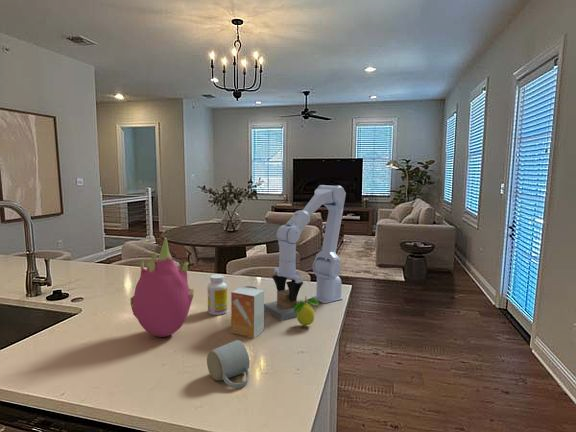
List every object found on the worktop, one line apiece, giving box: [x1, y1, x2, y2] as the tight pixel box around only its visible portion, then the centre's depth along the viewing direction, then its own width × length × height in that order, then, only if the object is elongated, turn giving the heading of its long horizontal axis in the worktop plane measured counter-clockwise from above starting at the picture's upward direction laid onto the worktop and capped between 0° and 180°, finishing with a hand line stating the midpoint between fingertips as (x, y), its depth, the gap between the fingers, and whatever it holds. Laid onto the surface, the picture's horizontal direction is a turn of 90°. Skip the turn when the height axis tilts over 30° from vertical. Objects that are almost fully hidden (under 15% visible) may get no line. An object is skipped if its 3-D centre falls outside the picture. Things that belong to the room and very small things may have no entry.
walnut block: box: [276, 289, 298, 309], centre depth 132 cm, size 5×5×5 cm
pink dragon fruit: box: [129, 236, 195, 338], centre depth 111 cm, size 18×14×30 cm
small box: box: [230, 286, 265, 339], centre depth 114 cm, size 8×6×13 cm
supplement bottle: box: [207, 274, 228, 316], centre depth 131 cm, size 7×7×13 cm
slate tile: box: [264, 300, 300, 321], centre depth 133 cm, size 12×12×2 cm
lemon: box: [294, 297, 319, 327], centre depth 120 cm, size 7×6×10 cm
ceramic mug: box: [206, 339, 251, 389], centre depth 89 cm, size 11×8×8 cm
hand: (287, 297), depth 132 cm, fingers open, 7 cm apart
